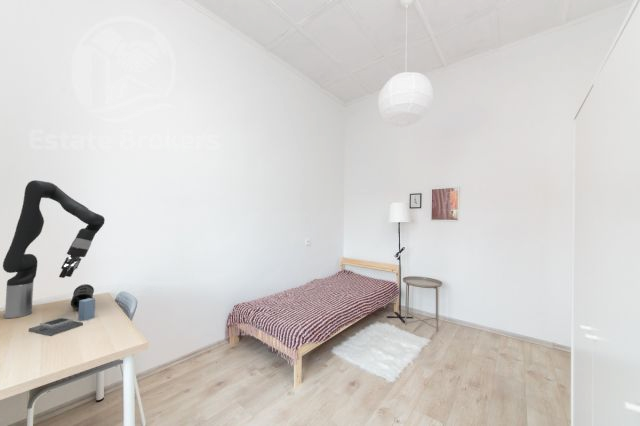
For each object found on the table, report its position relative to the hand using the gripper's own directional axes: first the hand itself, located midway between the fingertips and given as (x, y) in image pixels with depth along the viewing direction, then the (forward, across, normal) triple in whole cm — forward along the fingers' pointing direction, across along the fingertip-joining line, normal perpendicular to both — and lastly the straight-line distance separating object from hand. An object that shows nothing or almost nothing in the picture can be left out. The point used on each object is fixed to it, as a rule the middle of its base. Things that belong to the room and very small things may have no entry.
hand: (64, 277), depth 127 cm
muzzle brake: (+18, -29, +7) cm, 34 cm away
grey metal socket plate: (+22, +9, +8) cm, 26 cm away
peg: (+19, +1, +16) cm, 25 cm away
